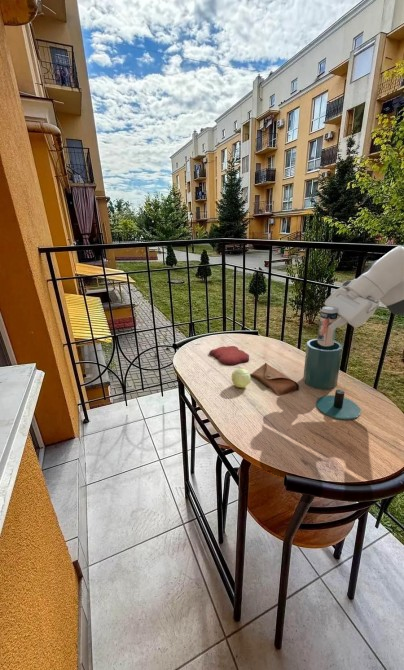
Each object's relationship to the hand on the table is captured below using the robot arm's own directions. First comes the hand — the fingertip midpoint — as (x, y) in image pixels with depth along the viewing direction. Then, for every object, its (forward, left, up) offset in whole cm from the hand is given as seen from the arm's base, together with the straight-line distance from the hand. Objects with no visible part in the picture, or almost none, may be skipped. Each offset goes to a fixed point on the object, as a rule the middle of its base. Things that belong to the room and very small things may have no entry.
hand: (325, 325), depth 87 cm
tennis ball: (+19, +17, -23) cm, 35 cm away
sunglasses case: (+13, +8, -23) cm, 27 cm away
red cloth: (+39, +1, -23) cm, 46 cm away
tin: (+1, -4, -22) cm, 23 cm away
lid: (-10, +7, -22) cm, 25 cm away
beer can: (0, 0, -7) cm, 7 cm away
